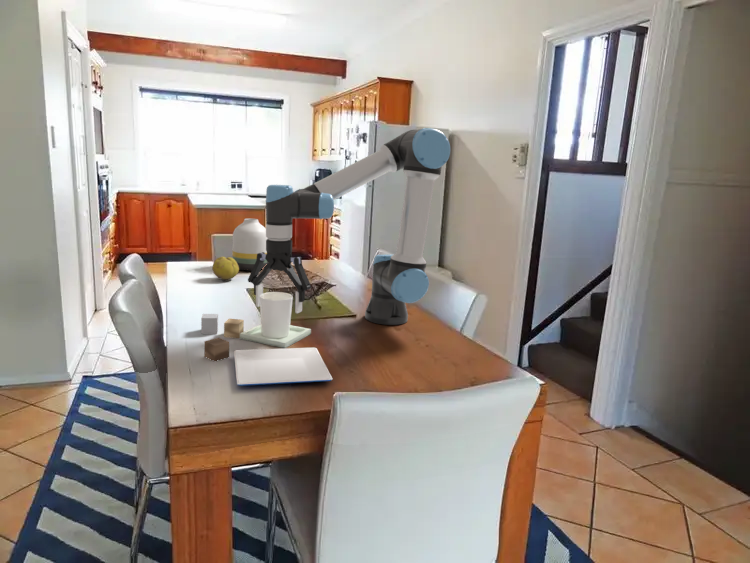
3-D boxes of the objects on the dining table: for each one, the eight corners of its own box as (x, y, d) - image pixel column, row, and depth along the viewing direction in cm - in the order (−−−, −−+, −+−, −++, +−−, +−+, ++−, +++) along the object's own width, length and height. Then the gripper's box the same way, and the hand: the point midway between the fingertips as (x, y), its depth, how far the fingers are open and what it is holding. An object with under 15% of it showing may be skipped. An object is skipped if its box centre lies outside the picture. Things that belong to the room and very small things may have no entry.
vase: (275, 270, 252) (276, 221, 247) (245, 274, 240) (245, 222, 235) (255, 264, 263) (256, 216, 258) (225, 267, 251) (225, 217, 246)
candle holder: (273, 341, 152) (275, 301, 149) (251, 333, 158) (252, 295, 155) (298, 334, 160) (299, 296, 157) (276, 327, 165) (277, 290, 163)
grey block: (218, 329, 161) (218, 313, 160) (217, 334, 157) (217, 318, 156) (202, 329, 160) (202, 313, 159) (201, 334, 156) (201, 318, 155)
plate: (332, 386, 126) (333, 378, 126) (237, 392, 120) (237, 383, 119) (316, 353, 147) (316, 346, 147) (233, 356, 140) (233, 349, 140)
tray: (310, 333, 163) (311, 329, 163) (285, 348, 149) (285, 343, 148) (268, 325, 168) (268, 320, 168) (239, 338, 154) (239, 333, 154)
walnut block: (229, 357, 139) (229, 341, 138) (214, 361, 136) (214, 345, 135) (218, 353, 142) (218, 337, 141) (204, 357, 138) (204, 341, 137)
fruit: (205, 279, 224) (205, 256, 222) (227, 276, 234) (227, 254, 232) (222, 284, 218) (222, 260, 216) (244, 280, 228) (244, 257, 226)
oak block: (243, 333, 159) (243, 319, 158) (239, 338, 155) (239, 324, 154) (228, 332, 159) (229, 318, 158) (224, 337, 155) (224, 322, 154)
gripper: (323, 241, 151) (321, 311, 156) (250, 233, 160) (251, 300, 165) (310, 244, 144) (309, 318, 149) (235, 236, 153) (236, 306, 158)
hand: (278, 309), depth 157 cm, fingers open, 13 cm apart
